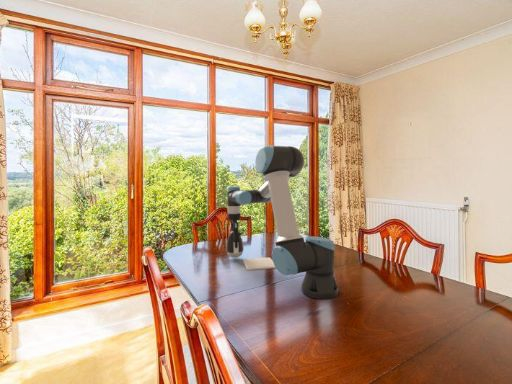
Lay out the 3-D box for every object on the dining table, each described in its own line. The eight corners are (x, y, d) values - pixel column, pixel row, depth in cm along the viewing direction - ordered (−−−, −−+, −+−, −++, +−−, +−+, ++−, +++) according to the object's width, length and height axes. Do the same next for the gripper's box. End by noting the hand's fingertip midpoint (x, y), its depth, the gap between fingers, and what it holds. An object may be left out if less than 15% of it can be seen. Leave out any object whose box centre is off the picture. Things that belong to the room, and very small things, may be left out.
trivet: (276, 267, 150) (276, 266, 150) (247, 270, 147) (247, 268, 147) (269, 258, 165) (269, 257, 165) (242, 260, 162) (242, 259, 162)
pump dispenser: (243, 258, 160) (242, 232, 159) (225, 259, 160) (224, 232, 159) (244, 253, 170) (244, 228, 169) (227, 254, 170) (226, 229, 169)
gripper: (243, 215, 153) (244, 255, 154) (238, 210, 175) (238, 245, 177) (229, 215, 152) (230, 256, 153) (225, 210, 174) (226, 246, 175)
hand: (235, 250), depth 165 cm, fingers closed on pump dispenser, 10 cm apart
